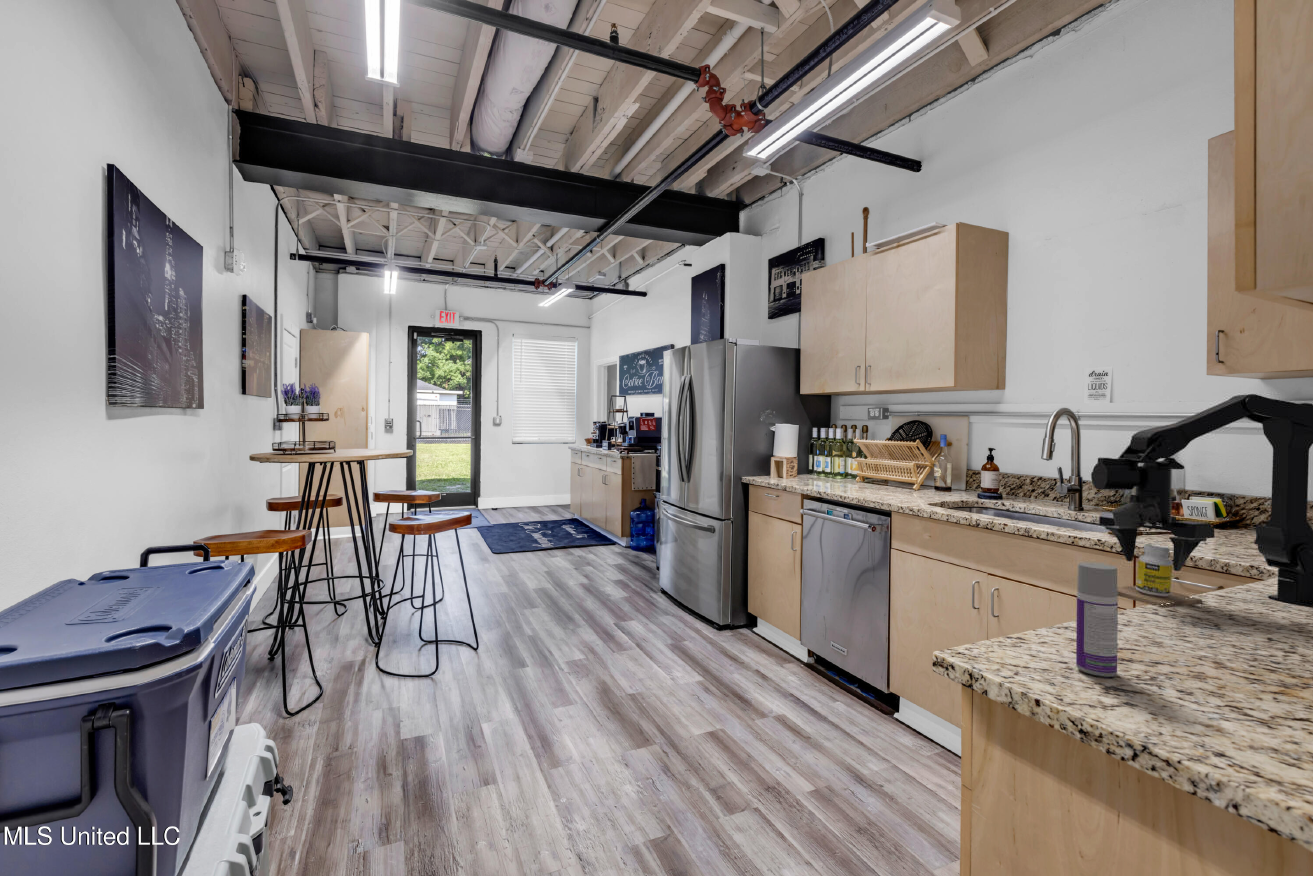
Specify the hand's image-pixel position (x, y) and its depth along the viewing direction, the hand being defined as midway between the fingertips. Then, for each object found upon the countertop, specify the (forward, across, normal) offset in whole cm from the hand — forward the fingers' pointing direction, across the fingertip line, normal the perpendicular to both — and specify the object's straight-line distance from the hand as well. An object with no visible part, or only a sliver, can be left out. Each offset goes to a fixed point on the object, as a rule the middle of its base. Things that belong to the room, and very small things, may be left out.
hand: (1152, 565), depth 121 cm
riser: (+7, 0, 0) cm, 7 cm away
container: (+7, +26, -48) cm, 55 cm away
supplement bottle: (+6, 0, 0) cm, 6 cm away
